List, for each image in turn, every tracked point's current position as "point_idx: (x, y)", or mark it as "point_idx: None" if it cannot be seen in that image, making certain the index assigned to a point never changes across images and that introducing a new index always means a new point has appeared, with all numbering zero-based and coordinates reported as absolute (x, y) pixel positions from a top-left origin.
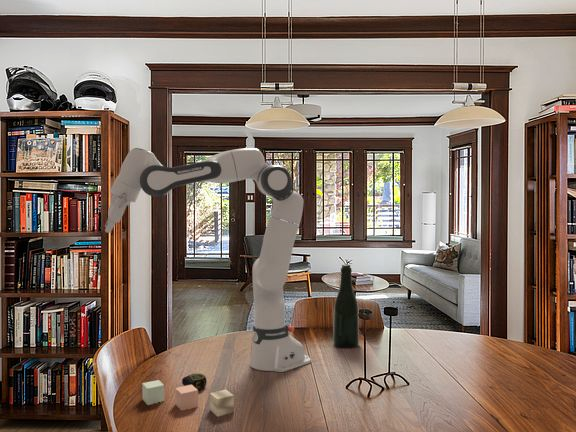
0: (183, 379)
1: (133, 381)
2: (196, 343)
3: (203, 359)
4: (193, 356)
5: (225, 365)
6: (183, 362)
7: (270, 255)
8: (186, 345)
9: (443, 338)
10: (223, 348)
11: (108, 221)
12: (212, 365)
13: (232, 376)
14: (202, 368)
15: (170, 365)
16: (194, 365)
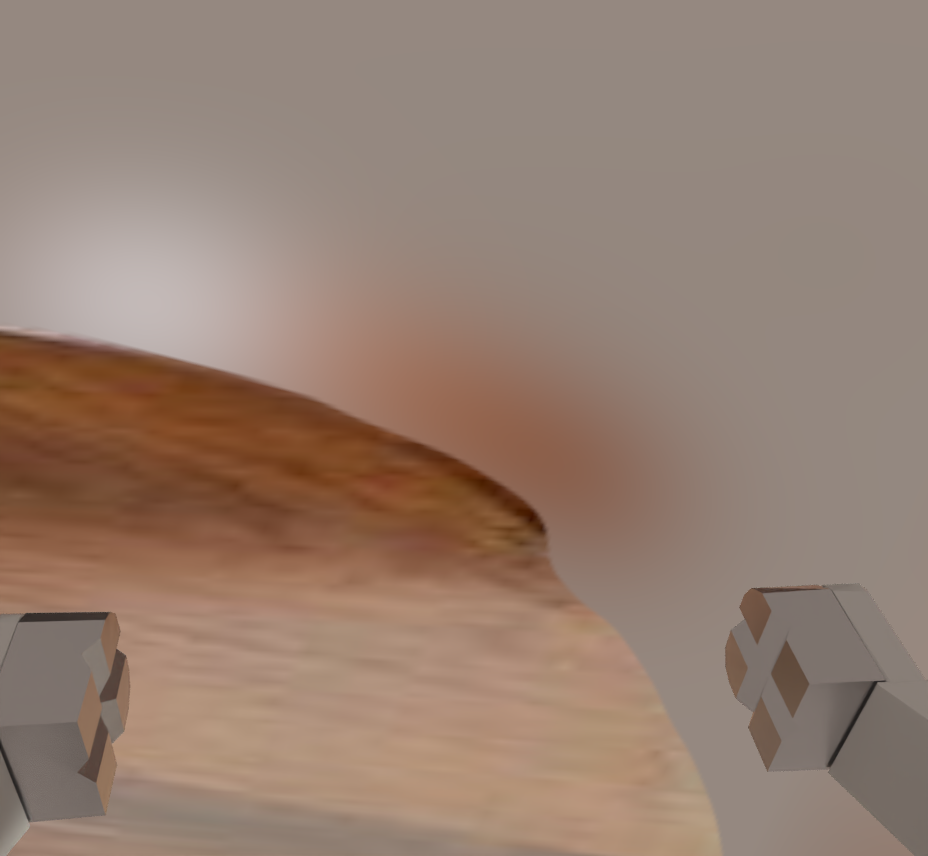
0: None
1: (181, 417)
2: (644, 732)
3: (386, 746)
4: (448, 705)
5: (261, 833)
6: (376, 656)
7: None
8: (633, 684)
9: None
10: (514, 845)
11: (907, 740)
12: (283, 778)
13: (98, 848)
14: (256, 733)
15: (354, 595)
16: (313, 701)
